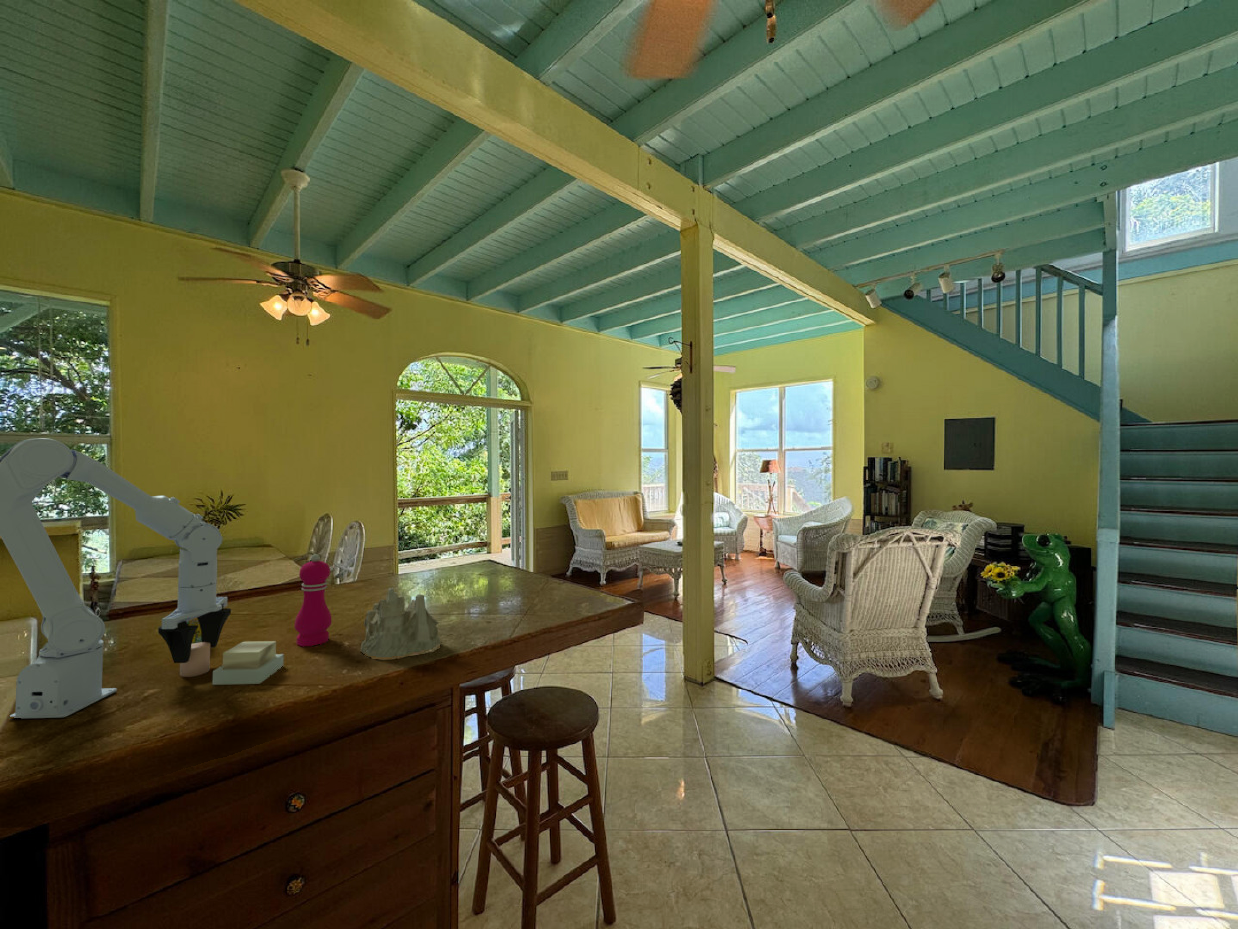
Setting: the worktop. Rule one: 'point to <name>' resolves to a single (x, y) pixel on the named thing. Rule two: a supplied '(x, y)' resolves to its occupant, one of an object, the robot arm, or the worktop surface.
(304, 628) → the pepper mill
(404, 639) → the grey rock mountain model
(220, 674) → the grey base slab
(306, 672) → the worktop surface
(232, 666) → the birch top slab
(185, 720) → the worktop surface
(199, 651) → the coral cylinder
